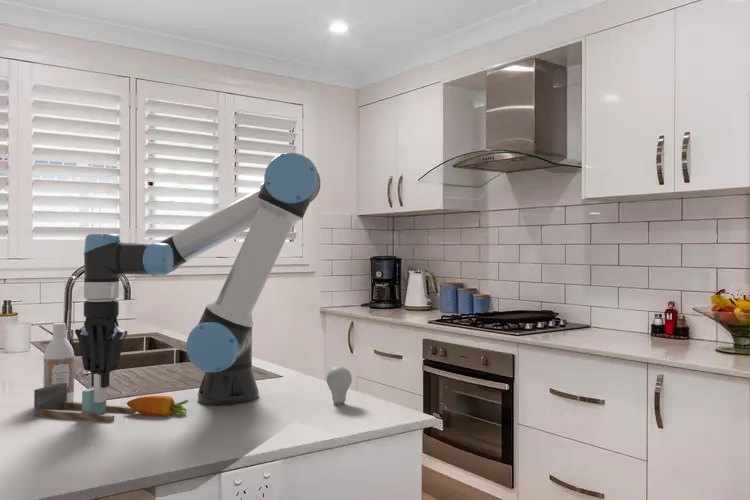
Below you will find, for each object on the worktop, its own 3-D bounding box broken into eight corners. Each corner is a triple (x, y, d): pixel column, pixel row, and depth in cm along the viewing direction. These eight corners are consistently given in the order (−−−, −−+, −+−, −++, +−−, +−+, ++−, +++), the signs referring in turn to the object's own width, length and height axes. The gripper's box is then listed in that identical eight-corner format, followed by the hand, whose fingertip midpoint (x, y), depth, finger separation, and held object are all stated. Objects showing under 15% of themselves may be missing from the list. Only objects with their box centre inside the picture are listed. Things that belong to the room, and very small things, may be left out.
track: (135, 414, 149) (136, 388, 149) (111, 423, 141) (111, 396, 141) (61, 406, 156) (62, 382, 156) (34, 415, 147) (34, 389, 147)
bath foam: (45, 406, 156) (45, 325, 156) (41, 401, 161) (42, 322, 161) (75, 403, 159) (76, 324, 159) (71, 397, 165) (72, 321, 165)
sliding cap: (106, 411, 150) (106, 386, 150) (89, 417, 145) (89, 391, 145) (99, 411, 151) (99, 385, 151) (82, 417, 145) (82, 391, 145)
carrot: (130, 388, 150) (190, 393, 148) (133, 405, 152) (192, 411, 149) (119, 400, 145) (181, 406, 143) (123, 418, 147) (183, 424, 145)
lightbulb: (340, 407, 157) (340, 363, 157) (356, 412, 152) (357, 366, 152) (321, 411, 152) (321, 366, 152) (337, 416, 148) (338, 369, 148)
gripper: (135, 299, 149) (134, 399, 149) (89, 297, 152) (88, 395, 152) (114, 302, 142) (112, 407, 142) (66, 300, 145) (65, 402, 145)
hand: (100, 401), depth 147 cm, fingers closed
